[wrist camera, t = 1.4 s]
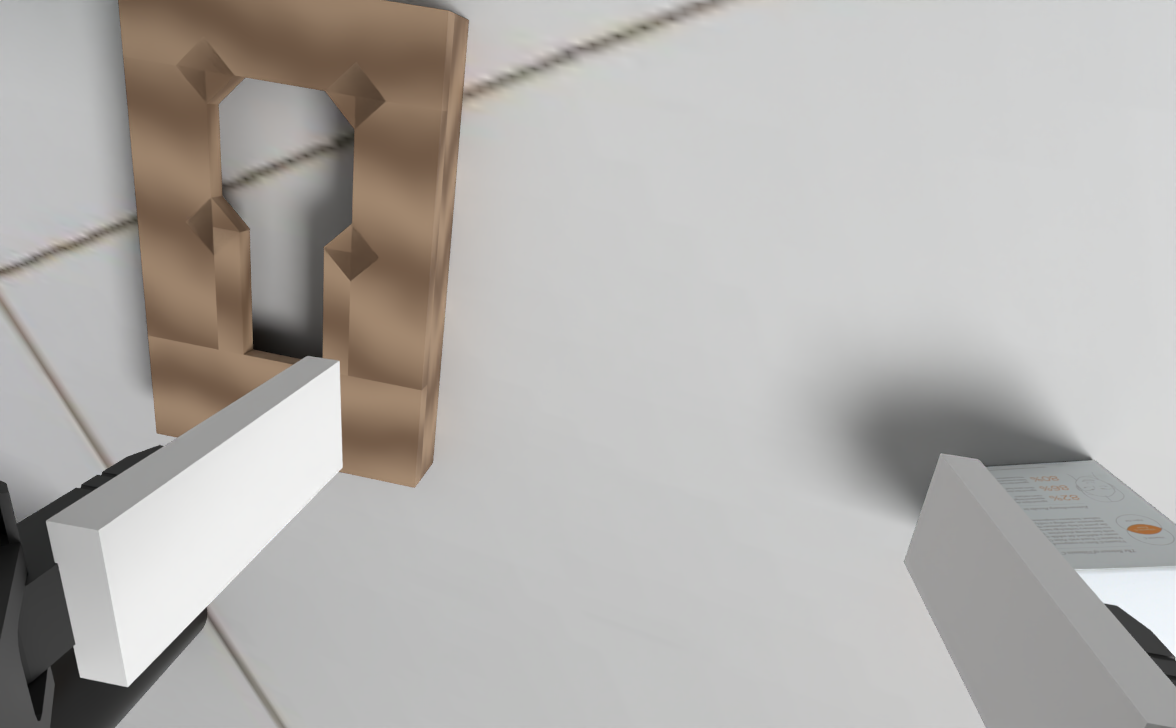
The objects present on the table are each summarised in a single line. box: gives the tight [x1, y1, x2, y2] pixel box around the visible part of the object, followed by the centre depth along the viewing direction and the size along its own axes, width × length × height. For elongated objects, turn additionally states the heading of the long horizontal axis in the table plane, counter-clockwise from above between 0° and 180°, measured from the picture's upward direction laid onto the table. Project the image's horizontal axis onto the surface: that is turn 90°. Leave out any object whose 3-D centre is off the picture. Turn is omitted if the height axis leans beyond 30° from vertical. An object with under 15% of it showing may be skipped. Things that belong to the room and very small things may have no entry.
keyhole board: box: [118, 0, 469, 488], centre depth 41 cm, size 28×18×3 cm, turn 171°
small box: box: [986, 460, 1176, 657], centre depth 37 cm, size 8×6×10 cm
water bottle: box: [50, 607, 207, 728], centre depth 44 cm, size 10×10×23 cm
